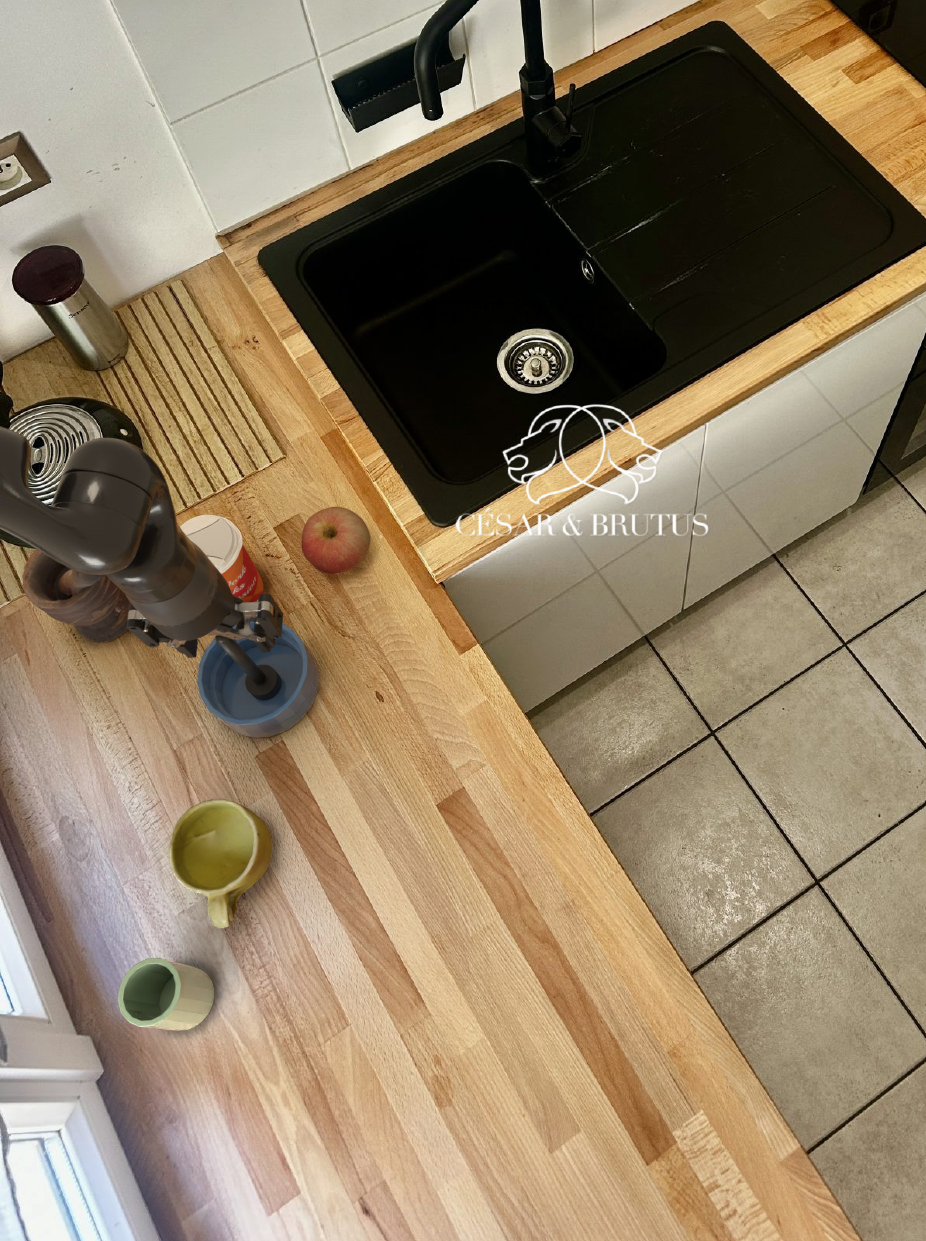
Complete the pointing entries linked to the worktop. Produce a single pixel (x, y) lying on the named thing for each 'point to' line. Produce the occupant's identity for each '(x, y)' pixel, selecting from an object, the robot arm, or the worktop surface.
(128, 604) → the mortar and pestle
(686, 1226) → the worktop surface
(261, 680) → the black pestle
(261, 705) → the bowl
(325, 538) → the apple
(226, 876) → the mug
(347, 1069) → the worktop surface
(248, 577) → the paper cup
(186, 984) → the utensil jar
